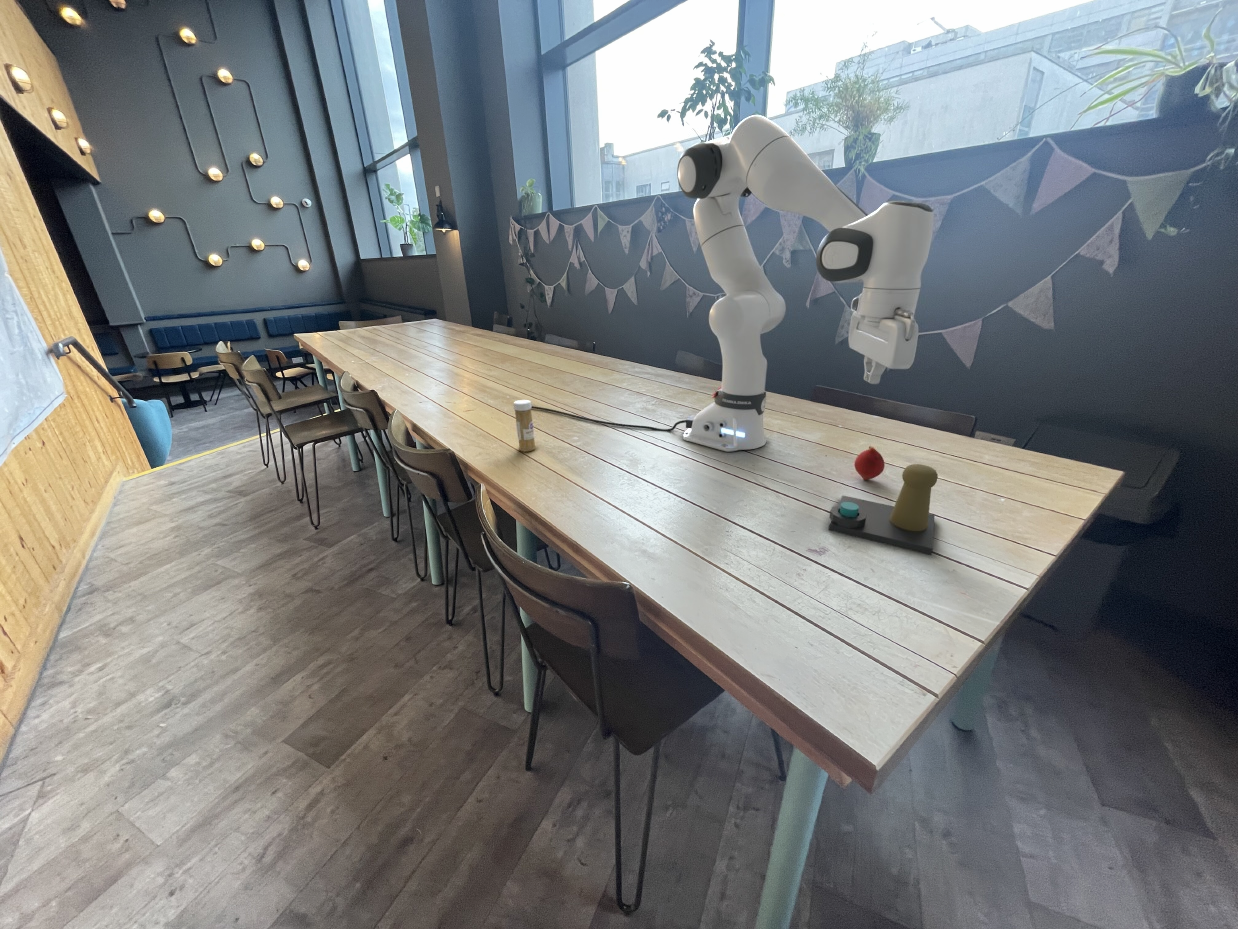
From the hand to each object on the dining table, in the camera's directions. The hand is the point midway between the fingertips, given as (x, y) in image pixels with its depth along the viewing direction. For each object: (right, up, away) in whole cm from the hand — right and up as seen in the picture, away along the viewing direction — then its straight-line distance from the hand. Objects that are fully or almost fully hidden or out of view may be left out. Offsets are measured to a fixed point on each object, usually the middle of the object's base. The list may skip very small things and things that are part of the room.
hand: (871, 382), depth 88 cm
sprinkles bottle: (-73, -11, +40) cm, 84 cm away
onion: (+8, -19, +17) cm, 27 cm away
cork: (+5, -26, -3) cm, 27 cm away
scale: (+1, -27, -1) cm, 27 cm away
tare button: (-5, -25, -2) cm, 25 cm away
